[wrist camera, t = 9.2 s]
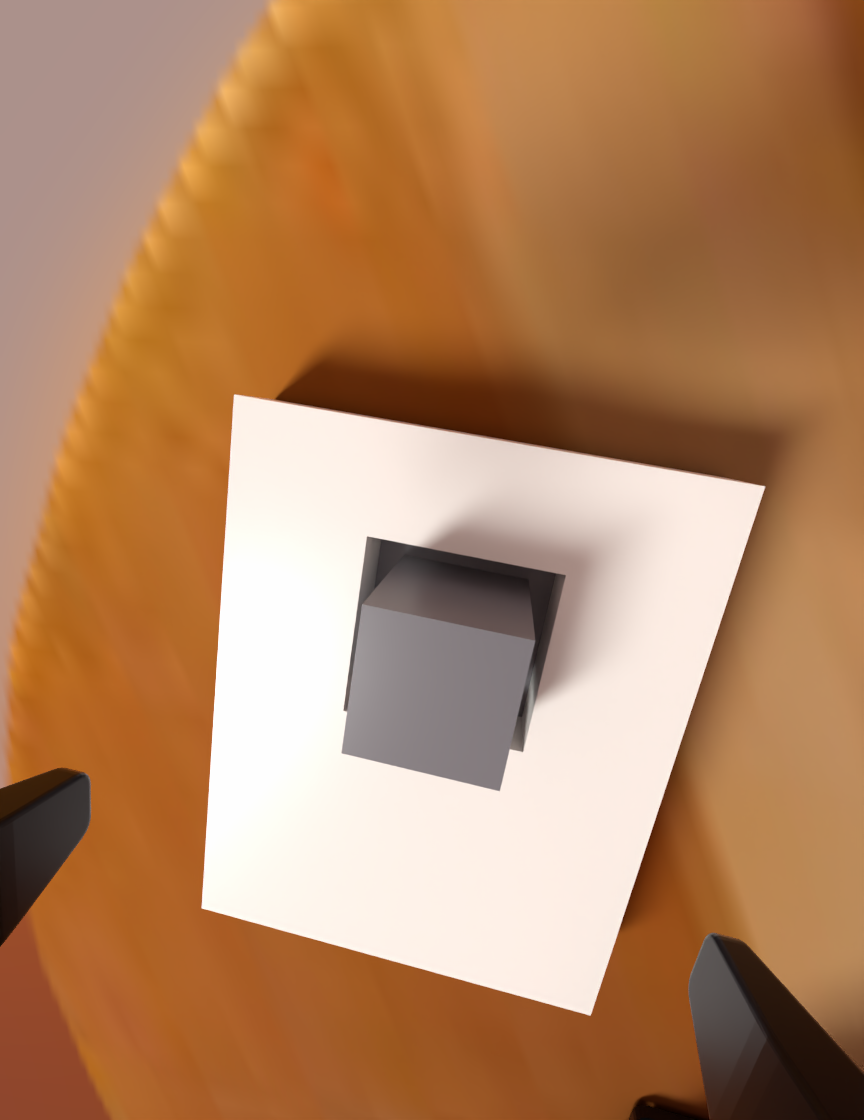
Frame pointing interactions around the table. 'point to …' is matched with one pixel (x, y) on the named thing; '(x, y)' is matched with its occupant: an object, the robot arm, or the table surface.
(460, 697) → the block
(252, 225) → the table surface
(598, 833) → the socket plate
